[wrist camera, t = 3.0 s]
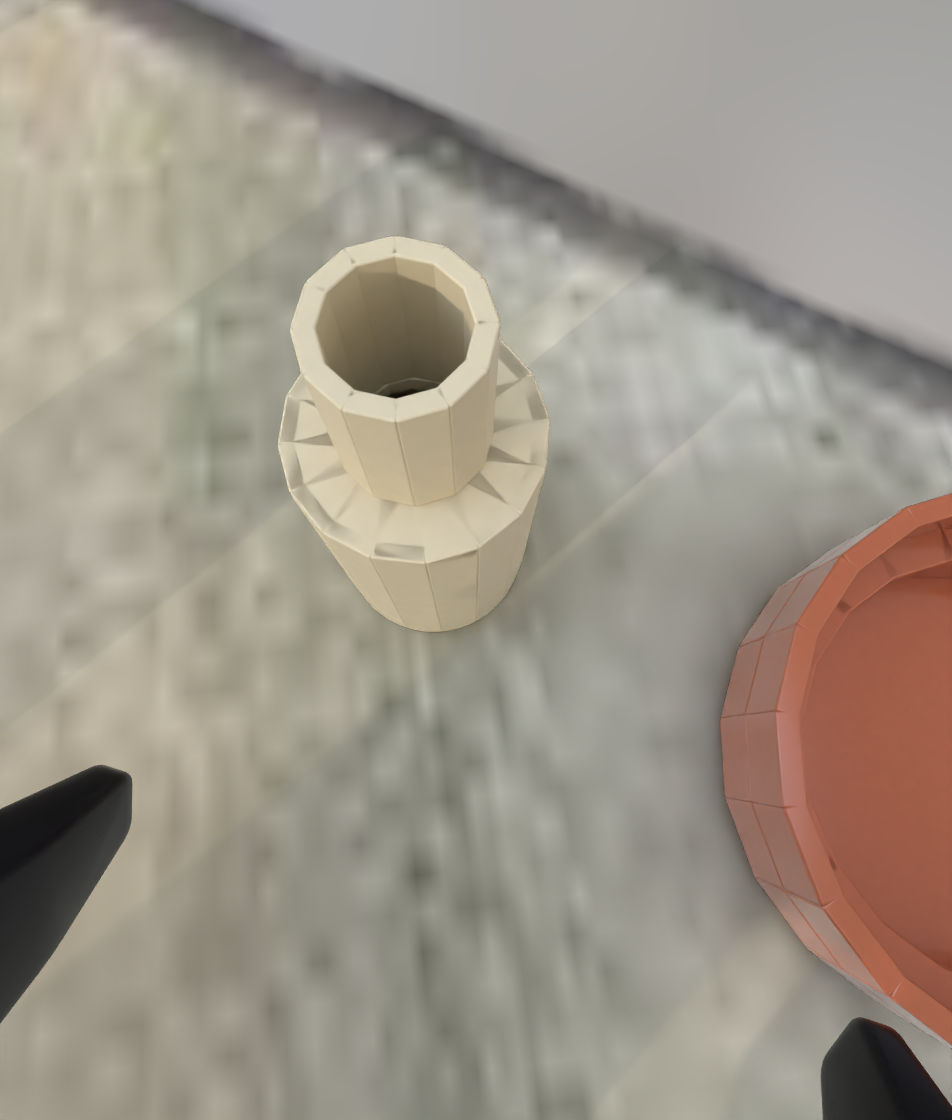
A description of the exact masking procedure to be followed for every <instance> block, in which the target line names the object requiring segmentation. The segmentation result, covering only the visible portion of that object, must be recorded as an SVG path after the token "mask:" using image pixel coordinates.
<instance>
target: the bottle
mask: <svg viewBox="0 0 952 1120" xmlns="http://www.w3.org/2000/svg"><path fill="white" fill-rule="evenodd" d="M290 328H291V330H290V334H291V337H292V341H293V345H294V348H295V352H296V356H297V359H298V363H299V367H300V370H301V374H300V376H299V377H298V379H297V380H296V382H295V383H294V385H293V386H292V388H291V389H290V391H289V392H288V394H287V397H286V399H285V405H284V411H283V416H282V422H281V428H280V433H279V439H278V449H279V453H280V457H281V461H282V465H283V469H284V473H285V477H286V481H287V484H288V488H289V492H290V493H291V496H292V497H293V498H294V500H295V501H296V503H297V504H298V506H299V507H300V508H301V510H302V511H303V513H304V514H305V516H306V517H307V518H308V520H309V521H310V523H311V524H312V525H313V527H314V528H315V530H316V531H317V533H318V534H319V535H320V537H321V538H322V540H323V541H324V542H325V544H326V545H327V547H328V548H329V550H330V551H331V552H332V554H333V555H334V557H335V558H336V559H337V561H338V562H339V564H340V565H341V567H342V568H343V569H344V571H345V572H346V574H347V575H348V576H349V578H350V579H351V581H352V582H353V584H354V585H355V586H356V587H357V589H358V590H359V591H360V592H361V594H362V595H363V596H364V597H365V599H366V600H367V601H368V602H369V604H370V605H371V606H372V607H373V609H375V610H376V611H377V612H379V613H380V614H381V615H382V616H384V617H386V618H387V619H389V620H390V621H392V622H394V623H396V624H399V625H401V626H403V627H406V628H410V629H413V630H419V631H425V632H442V631H450V630H454V629H458V628H462V627H464V626H467V625H470V624H472V623H474V622H476V621H477V620H479V619H481V618H483V617H484V616H485V615H487V614H488V613H490V612H491V611H492V610H493V609H494V608H495V607H496V606H497V605H498V604H499V603H500V602H501V601H502V600H503V598H504V597H505V596H506V594H507V593H508V591H509V590H510V588H511V586H512V584H513V582H514V580H515V578H516V575H517V573H518V571H519V569H520V566H521V563H522V559H523V555H524V551H525V548H526V544H527V540H528V536H529V532H530V529H531V525H532V521H533V517H534V513H535V510H536V506H537V502H538V498H539V494H540V491H541V487H542V483H543V479H544V475H545V472H546V468H547V455H548V442H549V429H550V421H549V416H548V413H547V410H546V407H545V405H544V402H543V399H542V396H541V393H540V391H539V388H538V385H537V382H536V379H535V377H534V375H533V374H532V372H531V371H530V370H529V369H528V368H527V367H526V366H525V365H524V363H523V362H522V361H521V360H520V359H519V358H518V357H517V356H516V355H515V354H514V353H513V352H512V350H511V349H510V348H509V347H508V346H507V345H506V344H505V343H504V342H503V341H502V340H501V339H500V319H499V316H498V313H497V311H496V308H495V305H494V302H493V299H492V296H491V294H490V291H489V288H488V285H487V282H486V280H485V279H484V278H483V276H482V275H481V274H480V273H479V272H477V271H476V270H475V269H474V268H473V267H471V266H470V265H469V264H468V263H466V262H465V261H464V260H463V259H462V258H460V257H459V256H458V255H457V254H455V253H454V252H453V251H452V250H451V249H449V248H448V247H445V246H444V245H441V244H436V243H431V242H426V241H421V240H416V239H412V238H407V237H402V236H395V237H394V236H389V237H385V238H381V239H377V240H373V241H369V242H365V243H361V244H357V245H353V246H350V247H346V248H345V250H344V249H342V250H341V251H340V252H338V253H337V254H336V255H335V256H334V257H333V258H332V259H331V260H329V261H328V262H327V263H326V264H325V265H324V266H323V267H321V268H320V269H319V270H318V271H317V272H316V273H315V274H313V275H312V276H311V277H310V278H309V279H308V280H307V281H306V283H305V284H304V287H303V290H302V293H301V296H300V299H299V302H298V305H297V308H296V311H295V314H294V317H293V320H292V323H291V326H290Z"/></svg>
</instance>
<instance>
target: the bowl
mask: <svg viewBox="0 0 952 1120" xmlns="http://www.w3.org/2000/svg"><path fill="white" fill-rule="evenodd" d="M721 717H722V718H721V719H720V726H721V743H722V759H723V775H724V791H725V797H726V801H727V804H728V807H729V809H730V812H731V815H732V817H733V820H734V823H735V826H736V828H737V831H738V834H739V836H740V839H741V842H742V844H743V847H744V850H745V853H746V855H747V858H748V861H749V863H750V866H751V869H752V872H753V874H754V876H755V877H756V880H757V881H758V883H759V884H760V885H761V887H762V888H763V890H764V891H765V892H766V894H767V895H768V896H769V898H770V899H771V900H772V902H773V903H774V905H775V906H776V907H777V909H778V910H779V911H780V913H781V914H782V915H783V917H784V918H785V919H786V921H787V922H788V924H789V925H790V926H791V928H792V929H793V930H794V932H795V933H796V934H797V936H798V937H799V938H800V940H801V941H802V943H803V944H804V945H805V947H806V948H808V949H809V950H810V951H811V952H812V953H813V954H814V955H816V956H817V957H818V958H820V959H821V960H822V961H823V962H825V963H826V964H827V965H829V966H830V967H831V968H833V969H834V970H835V971H836V972H838V973H839V974H840V975H842V976H843V977H844V978H846V979H847V980H848V981H850V982H851V983H852V984H853V985H855V986H856V987H857V988H859V989H860V990H861V991H863V992H864V993H865V994H866V995H868V996H869V997H870V998H872V999H873V1000H874V1001H876V1002H877V1003H879V1004H880V1005H882V1006H883V1007H885V1008H887V1009H888V1010H890V1011H891V1012H893V1013H895V1014H896V1015H898V1016H900V1017H901V1018H903V1019H904V1020H906V1021H908V1022H909V1023H911V1024H912V1025H914V1026H916V1027H917V1028H919V1029H921V1030H922V1031H924V1032H925V1033H927V1034H928V1035H930V1036H932V1037H933V1038H935V1039H936V1040H938V1041H940V1042H941V1043H943V1044H945V1045H946V1046H948V1047H949V1048H951V1049H952V493H951V494H948V495H944V496H941V497H938V498H934V499H931V500H928V501H924V502H921V503H918V504H914V505H911V506H908V507H906V508H904V509H902V510H900V511H898V512H896V513H894V514H893V515H891V516H889V517H887V518H886V519H884V520H882V521H880V522H878V523H877V524H875V525H873V526H871V527H870V528H868V529H866V530H864V531H863V532H861V533H859V534H857V535H856V536H854V537H852V538H850V539H848V540H847V541H845V542H843V543H841V544H840V545H838V546H836V547H834V548H832V549H831V550H829V551H828V552H826V553H825V554H824V555H822V556H821V557H820V558H818V559H817V560H815V561H814V562H813V563H811V564H810V565H809V566H807V567H806V568H805V569H803V570H802V571H801V572H799V573H798V574H796V575H795V576H794V577H792V578H791V579H790V580H788V581H787V582H786V583H784V584H783V585H781V586H780V587H779V589H777V590H776V591H775V593H774V594H773V596H772V597H771V599H770V600H769V602H768V603H767V605H766V606H765V608H764V609H763V611H762V612H761V613H760V615H759V616H758V618H757V619H756V621H755V622H754V624H753V625H752V627H751V628H750V630H749V631H748V633H747V634H746V636H745V637H744V639H743V640H742V642H741V643H740V645H739V649H738V651H737V655H736V659H735V663H734V667H733V671H732V675H731V679H730V682H729V686H728V690H727V694H726V698H725V702H724V706H723V710H722V714H721Z"/></svg>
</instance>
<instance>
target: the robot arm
mask: <svg viewBox="0 0 952 1120" xmlns="http://www.w3.org/2000/svg"><path fill="white" fill-rule="evenodd" d="M131 818H132V778H131V776H130V775H129V774H128V773H126V772H124V771H121V770H118V769H115V768H112V767H109V766H105V765H97V766H93V767H91V768H88V769H86V770H84V771H82V772H80V773H78V774H75V775H73V776H71V777H69V778H67V779H65V780H62V781H60V782H58V783H56V784H54V785H52V786H49V787H47V788H45V789H43V790H41V791H38V792H36V793H34V794H32V795H30V796H28V797H25V798H23V799H21V800H19V801H17V802H15V803H12V804H10V805H8V806H6V807H4V808H2V809H0V1023H1V1022H2V1021H3V1019H4V1018H5V1017H6V1015H7V1014H8V1013H9V1011H10V1010H11V1009H12V1007H13V1006H14V1005H15V1004H16V1002H17V1001H18V1000H19V998H20V997H21V996H22V994H23V993H24V992H25V990H26V989H27V988H28V987H29V985H30V984H31V983H32V981H33V980H34V979H35V977H36V976H37V975H38V973H39V972H40V971H41V969H42V968H43V967H44V965H45V964H46V962H47V961H48V960H49V958H50V957H51V956H52V954H53V953H54V951H55V950H56V948H57V947H58V945H59V943H60V942H61V940H62V939H63V937H64V936H65V934H66V933H67V931H68V929H69V928H70V926H71V925H72V923H73V921H74V920H75V918H76V917H77V915H78V913H79V912H80V910H81V909H82V907H83V905H84V904H85V902H86V901H87V899H88V897H89V896H90V894H91V893H92V891H93V889H94V888H95V886H96V884H97V883H98V881H99V880H100V878H101V876H102V875H103V873H104V872H105V870H106V868H107V867H108V865H109V864H110V862H111V860H112V859H113V857H114V856H115V854H116V852H117V851H118V849H119V848H120V846H121V844H122V843H123V841H124V839H125V838H126V835H127V833H128V831H129V828H130V824H131ZM821 1090H822V1109H823V1120H952V1106H951V1105H950V1103H949V1102H948V1101H947V1099H946V1098H945V1096H944V1095H943V1094H942V1092H941V1091H940V1090H939V1088H938V1087H937V1085H936V1084H935V1083H934V1081H933V1080H932V1078H931V1077H930V1076H929V1074H928V1073H927V1072H926V1070H925V1069H924V1067H923V1066H922V1065H921V1063H920V1062H919V1060H918V1059H917V1058H916V1056H915V1055H914V1054H913V1052H912V1051H911V1049H910V1048H909V1047H908V1045H907V1044H906V1042H905V1041H904V1040H903V1038H902V1037H901V1036H900V1035H899V1034H898V1033H897V1032H896V1031H895V1030H894V1029H892V1028H891V1027H889V1026H886V1025H883V1024H880V1023H877V1022H874V1021H871V1020H868V1019H865V1018H861V1017H858V1018H856V1019H853V1020H852V1021H851V1022H850V1023H849V1024H848V1026H847V1027H846V1028H845V1030H844V1031H843V1032H842V1034H841V1035H840V1036H839V1038H838V1039H837V1040H836V1042H835V1043H834V1044H833V1046H832V1047H831V1048H830V1050H829V1051H828V1052H827V1054H826V1055H825V1058H824V1060H823V1064H822V1068H821Z"/></svg>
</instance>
